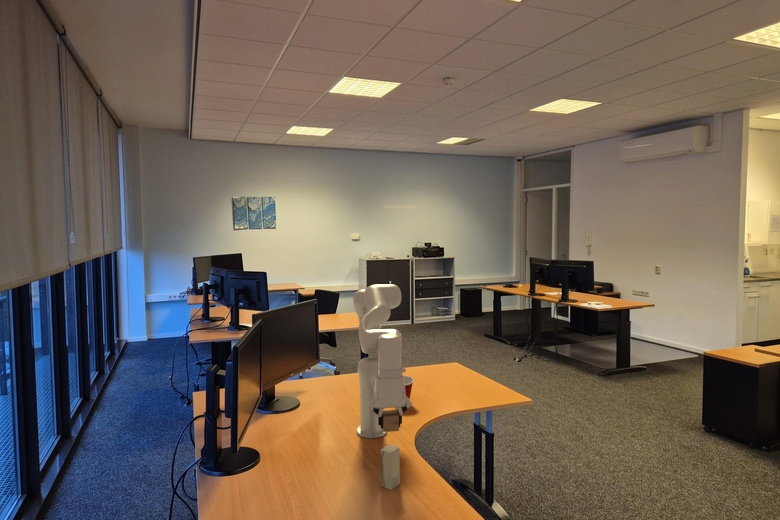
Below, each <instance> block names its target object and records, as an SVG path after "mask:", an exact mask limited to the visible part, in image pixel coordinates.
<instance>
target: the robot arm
mask: <svg viewBox="0 0 780 520" xmlns="http://www.w3.org/2000/svg"><path fill="white" fill-rule="evenodd" d="M352 299H353V306H354V310H355V312H356V315H357V317H358V322H359V324H358V338H359V344H360V349H361V352H362V353H364V354H368V355H371V354H372V355H374V354H375V355H377V356H372V357H371V356H369V357H363V358H362V359H360V360H359V361H358V363H357V375H358V380H359V399H360V400H359V404H360V405H359V406H360V409H359V413H360V415H359V417H360V421H359V422H360V425H359V426H358V427H356V434H357V435H358V436H359V437H361V438H364V439H378V438H382V437H384V436H385V435H386V434H387V433H388V432H383V415H382V413H383V411H384V409H387V408H388V409H389V408H390V409H391V408H392V409H393V408H397V409H396V410H397V413H398V415H399V429H400V428H401V425H402V424H403V416H404V413H405V412H406V411H407V410H408V409H409V408H410V407H412V406H413V402H412V400H411V399H410V400H409V399H408V397H407V396H406V394H405V384H404V378H403V376H404V374H403V373H406V371H407V369H406V367H402V345H403V335H402V333H401V332H400V330H398V329H397V328H396V329H395V328H384V329H383V328H382V329H381V325H383V324H384V323H386V322H387V321H388V320H389V318H390V316H391V310H392V309H395V308H397V307H399V306H400V305H401V303H402V291H401V289H400V287H399V286H398V285H396V284H393V283H392V284H391V283H390V284H388V283H387V284H372V285H369V286H368V287H366V288H365V289H359V290H356V291H355V292H354V293H353V297H352ZM406 402H407V403H406Z"/></svg>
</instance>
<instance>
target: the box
mask: <svg viewBox="0 0 780 520" xmlns="http://www.w3.org/2000/svg"><path fill="white" fill-rule="evenodd" d="M400 454H401V451H400V447H399V446H397V445H396V446H395V445H394V444H391V443H389V444H388V445H385V446H384V447H382V448H381V449H380V482H381V483H380V485H381V487H382V488H385V489H387V490H390V491H392V490H394V488H396V487H398V486H399V485H400V483H401V475H400V474H401V469H400V468H401V466H400V465H401V463H400V462H401V461H400V460H401V459H400Z"/></svg>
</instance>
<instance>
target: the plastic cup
mask: <svg viewBox="0 0 780 520" xmlns="http://www.w3.org/2000/svg"><path fill="white" fill-rule="evenodd" d="M403 378H404V384H405V394H406V396H407V397H408V399H409V400H410V401H411V399H410V398H411V395H412V394H411V393H412V389H413V383H414V382H415V378H413V377H412V376H410V375H403ZM406 403H407V402H406Z"/></svg>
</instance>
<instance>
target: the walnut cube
mask: <svg viewBox="0 0 780 520" xmlns="http://www.w3.org/2000/svg"><path fill="white" fill-rule="evenodd" d="M397 412H398V409H391V410H390V409H389V410H383V413H382V415H383V432H387V433H388V432H391V433H392V432H400V428H399V415H398V413H397Z"/></svg>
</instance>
